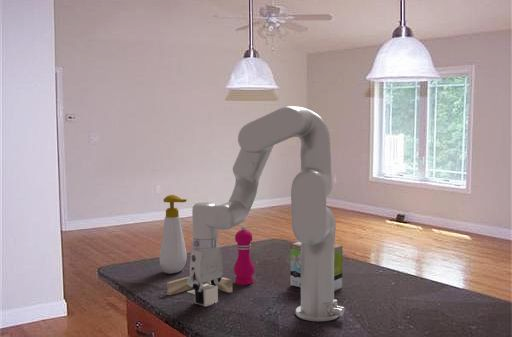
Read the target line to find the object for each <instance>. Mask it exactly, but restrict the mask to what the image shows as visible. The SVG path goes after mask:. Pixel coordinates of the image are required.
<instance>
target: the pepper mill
mask: <svg viewBox="0 0 512 337" xmlns="http://www.w3.org/2000/svg"><path fill="white" fill-rule="evenodd" d="M234 238H235V242H236V243H237V244H236V249H237V259H236V261H235V264H234V266H233V273H234V275H235V276H236V277H234V278H235V279H234V280H235V284H236V285H239V286H247V285H248V284H249V285H251V284H253V283H254V277H253V275H254V273H255V265H254V262H253V260H252V259H251V252H250V251H251V248H252V241H253V234H252V232H251V231H249V230H247V226H246V225H242V226H241V227H240V230H239V231H237V232H236V234H235V236H234Z"/></svg>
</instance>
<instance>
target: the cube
mask: <svg viewBox="0 0 512 337" xmlns="http://www.w3.org/2000/svg"><path fill="white" fill-rule="evenodd" d="M202 291H203V301H204V303H203V304H198V303H196V302H195V301H194V304H197V305H200V306H203V307H209V306H211V305H215V304H218V303H219V296H218V295H219V290H218V287H217V286H214V285H210V284H204V285H203V287H202ZM217 302H218V303H217ZM214 303H215V304H214Z"/></svg>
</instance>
